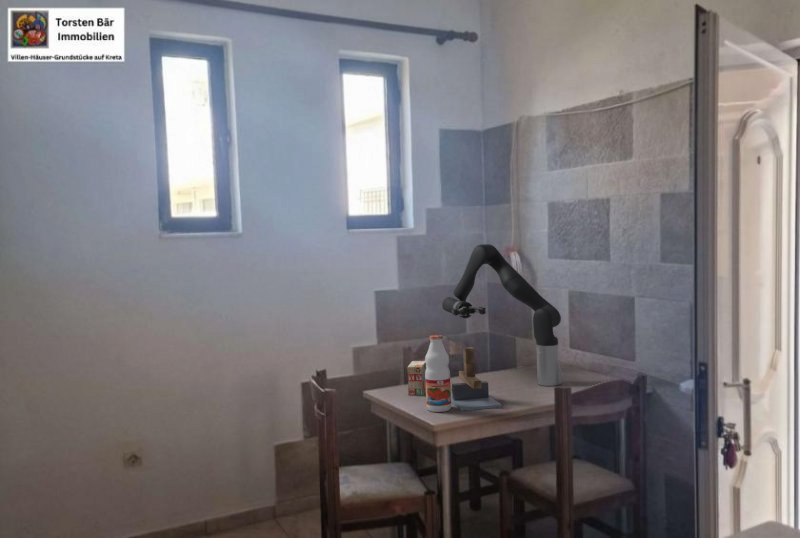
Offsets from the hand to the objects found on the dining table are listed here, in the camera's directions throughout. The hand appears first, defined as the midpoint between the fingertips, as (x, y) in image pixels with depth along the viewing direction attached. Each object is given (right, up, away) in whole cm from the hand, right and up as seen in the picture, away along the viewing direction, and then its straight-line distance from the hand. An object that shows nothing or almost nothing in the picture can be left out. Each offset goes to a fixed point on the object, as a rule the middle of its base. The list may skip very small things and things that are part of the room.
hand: (473, 312), depth 270 cm
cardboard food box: (-24, -33, -1) cm, 41 cm away
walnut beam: (-4, -26, -24) cm, 36 cm away
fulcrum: (-4, -33, -24) cm, 41 cm away
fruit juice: (-17, -34, -35) cm, 52 cm away
